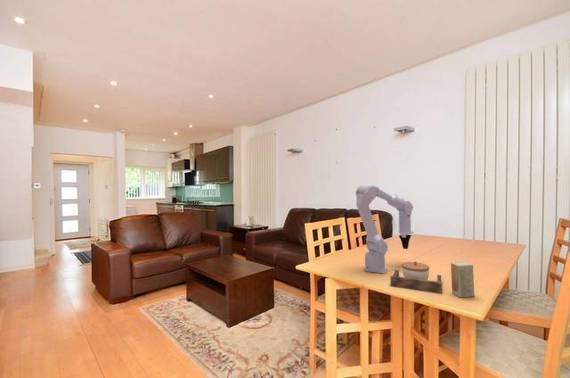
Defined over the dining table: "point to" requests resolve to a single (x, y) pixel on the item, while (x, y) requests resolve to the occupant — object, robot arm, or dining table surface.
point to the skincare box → (462, 279)
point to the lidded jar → (415, 270)
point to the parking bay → (416, 283)
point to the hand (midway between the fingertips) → (405, 248)
